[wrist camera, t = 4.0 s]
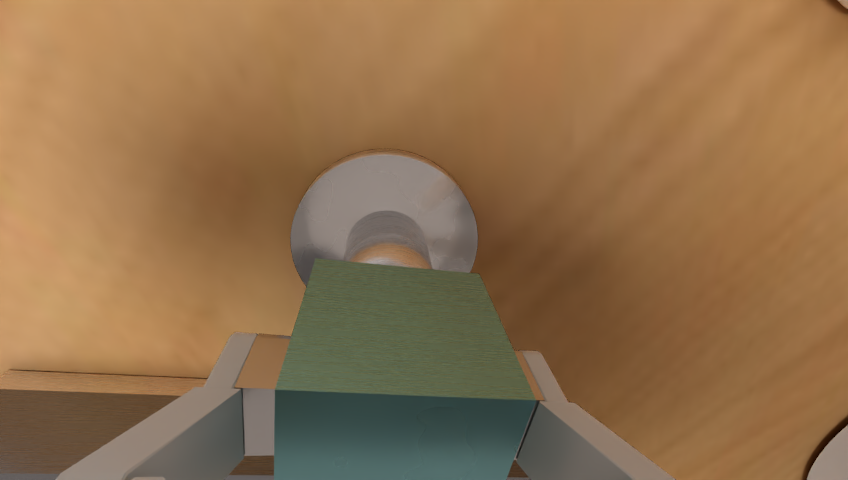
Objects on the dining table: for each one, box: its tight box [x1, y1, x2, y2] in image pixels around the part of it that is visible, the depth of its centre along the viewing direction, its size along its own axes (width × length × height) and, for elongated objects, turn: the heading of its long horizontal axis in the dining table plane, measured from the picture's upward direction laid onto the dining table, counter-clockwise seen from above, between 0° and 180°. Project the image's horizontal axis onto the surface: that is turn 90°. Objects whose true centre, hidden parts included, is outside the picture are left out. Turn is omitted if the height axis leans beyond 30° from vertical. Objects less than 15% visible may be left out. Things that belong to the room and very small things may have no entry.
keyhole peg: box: [274, 149, 536, 480], centre depth 11 cm, size 7×7×10 cm
